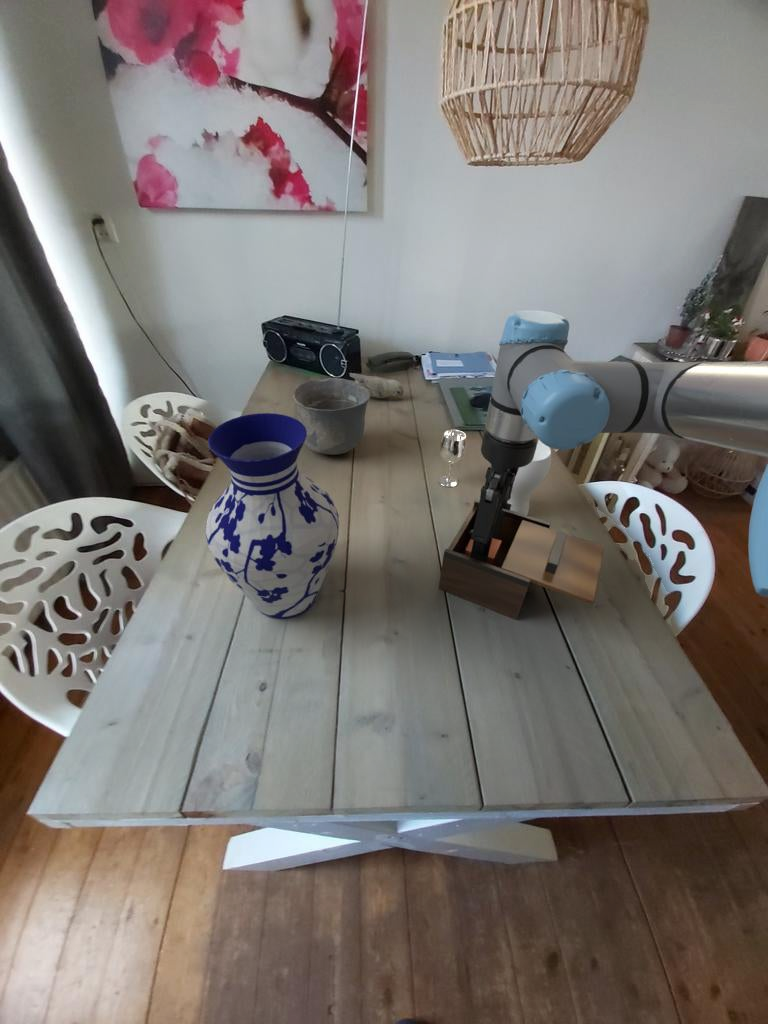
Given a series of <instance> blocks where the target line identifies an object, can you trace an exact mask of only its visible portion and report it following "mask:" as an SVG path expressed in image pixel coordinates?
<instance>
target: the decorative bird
mask: <svg viewBox="0 0 768 1024" xmlns="http://www.w3.org/2000/svg"><path fill="white" fill-rule="evenodd" d="M349 377H350V378H352V379H354V382H356V383H359V387H361V386H362V387H365V389H367V390H368V391H369V393H370V398H375V399H386V398H389V397H391V396H393V397H397V399H399V400H401V401H403V398H404V387H403V385H402V383H401V382H399V381H398V380H396V379H388V378H384V377H380V376H374V375H365V374H361V373H355V372H353V373H352V372H349Z"/></svg>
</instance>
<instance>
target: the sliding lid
mask: <svg viewBox="0 0 768 1024" xmlns="http://www.w3.org/2000/svg"><path fill="white" fill-rule="evenodd" d="M604 551H605V545H602V544H599V543H595V542H593V541H590V540H586V539H583V538H581V537H578V536H574V535H571V534H568V533H565V532H561V531H558V530H555V529H552V528H550V527H549V528H546V527H543V526H540V525H537V524H534V523H531V522H527V521H524V520H522V522H521V524H520V526H519V529H518V531H517V533H516V535H515V538H514V540H513V542H512V544H511V547H510V549H509V551H508V554H507V556H506V558H505V560H504V563H503V565H502V567H501V569H504V570H507V571H509V572H512V573H515V574H518V575H520V576H523V577H526V578H529V579H531V581H530V584H534V585H537V586H539V587H542V588H545V589H547V590H550V591H553V592H556V593H559V594H561V595H564V596H566V597H569V598H572V599H575V600H577V601H579V602H582V603H586V604H588V605H591V606H592V605H593V604H594V602H595V597H596V592H597V587H598V582H599V577H600V573H601V572H600V571H601V566H602V563H603V562H602V561H603V557H604V556H603V555H604Z"/></svg>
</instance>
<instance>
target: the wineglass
mask: <svg viewBox="0 0 768 1024" xmlns="http://www.w3.org/2000/svg"><path fill="white" fill-rule="evenodd" d="M467 441H468V440H467V435H466V433H465V432H463V431H461V430H458V429H448V430H445V431H444V432H443V434H442V437H441V440H440V443H439V450H438V451H439V455H440V458H441V459H442V460H443V461H445V462H447V463H448V465H447V466H448V474H447V475H441V476H440V477H439V478H438V483H439V485H441V486H442V487H445V488H455V487H456V486H458V484H459V480H458V479H457V478H456V477H455V476H452V475H451V471H452V469H453V467H454V464H456V463H459V462H461V461H462V460H463V459H464V458H465V456H466V453H467V450H468V449H467V446H468V445H467V444H468V443H467Z"/></svg>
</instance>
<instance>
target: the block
mask: <svg viewBox="0 0 768 1024" xmlns="http://www.w3.org/2000/svg"><path fill="white" fill-rule="evenodd" d="M473 541H474V540H472V539H471V540H470V542H469V544H468V545H467V547H466V549H465V555H466V556H468V557H470V555H471V550H472V546H473ZM501 543H502V541H501V540H498V539H494V538H492V542H491V546H490V550H489V554H488V558H487V562H486V563H487V564H490V565H493V566H496V564H497V562H498V557H499V552H500V547H501Z"/></svg>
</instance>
